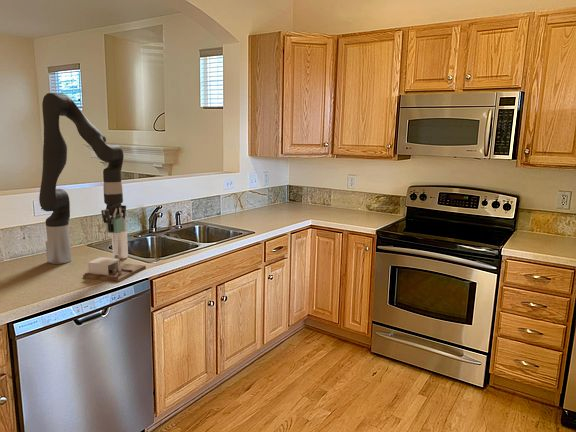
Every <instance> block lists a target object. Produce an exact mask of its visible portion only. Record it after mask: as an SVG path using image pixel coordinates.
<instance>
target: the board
mask: <svg viewBox="0 0 576 432" xmlns="http://www.w3.org/2000/svg"><path fill="white" fill-rule="evenodd" d="M115 259H119V266H120V270H118V271H116V269H113V270H108V272H109V276H108V275H100V274H92V273H89V271H88V272H85V273H84V274H82V278H83V279H85V278H86V279H90V280H99V281H106V282H107V281H109V282H116V283H120V282H121V281H123V280H125V279H128V278H130V277H131V276H134V275H135V274H138V273H140V272H141V271H143V270H145V269H146V268H147V267H146V265H143V264H133V263H126V262H125V263H124V262H120V261H121V259H120V257H119V254H115Z"/></svg>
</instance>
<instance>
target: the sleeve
mask: <svg viewBox="0 0 576 432" xmlns="http://www.w3.org/2000/svg"><path fill="white" fill-rule="evenodd" d="M106 220H107V219H106ZM110 221H111V219H110ZM113 221H114V222H113V224H114V232H113V233H120V232H122V231H124V218H123V217H115V219H113ZM105 224H106V233H107V234H109V233H110V234H112V233H111V232H109V231H108V224H107V223H105Z"/></svg>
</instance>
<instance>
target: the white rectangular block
mask: <svg viewBox="0 0 576 432" xmlns="http://www.w3.org/2000/svg"><path fill="white" fill-rule="evenodd" d="M87 264H88V265H87V268H88V269H87V270H88V272H89V273H92V274H100V275H108V276H109V272H108V270H113V269H116V271H118V270H120V266H119V259H114V258H113V257H103V256H100V257H97V258H95V259H92V260H90V261H88V262H87Z"/></svg>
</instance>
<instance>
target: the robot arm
mask: <svg viewBox="0 0 576 432" xmlns="http://www.w3.org/2000/svg"><path fill="white" fill-rule="evenodd" d="M41 105H42V119H43V120H42V121H43V122H42V123H43V146H42V147H43V148H42V173H41V183H40V188H39V189H40V190H39V196H38V201H39V206H40V208H41V210H43V211H44V212H52V213H51V215H50V216H48V217H47V218H46V219H45V230H46V231H45V232H46V241H45V251H46V252H45V253H46V261H47V263H49V264H52V265H57V264H58V265H59V264H66V263H69V262H72V250H71V235H70V225H69V221H70V217H71V208H70V207H71V204H70V203H71V201H70V196H69V194H68V192H67V191H66V190H65V189H63V188H57V183H58V179H59V178H60V176H61V173H62V172H63V170H64V168H65V167H66V164H67V158H68V145H67V143H66V141H65V138H64V137H63V135H62V132H61V129H60V117H62V116H64V117H66V118H67V119H69V120H70V121H71V122H72V123H73V124H74V125H75V127H76V130H77V132H78V135H80V137H81V138H82V139H83V140H84V141H85V142H86V143H87V144H88V145H89V146H90V147H91V148H92V150H93V152H94V153H95V155H96V156H97V158H98V159H100V160H101V161H102V162H104V163H108V165H107V167H105V168H104V169H103V170H102V171H103V173H102V178H103V187H102V188H103V189H102V190H103V202H104V203H103V204H105V205H106V207H105V209H101V216H102V221H103V223H104V224H106V223H107V224H108V231H109V232H111V233H110V234H112V233H113V232H114V224H113V222H114V221H113V219H115V217H123V218H124V219H125V215H126V216H127V213H126V212H127V205H123V204H122V203H124V197H123V196H124V195H123V194H124V193H123V184H122V173H121V172H122V167H123V162H124V155H125V154H124V151H123V149H122V147H121V146H119V145H117V144H107V143H106V142H107V138H106V136H105V135H104V134H103V133H102V132H101V131H100V130H99V129H98V128H97V127H96V126H95V125H94V124H93V123H92V122H91V121H90V120H89V119H88V118H87V116H85V114H84V113H83V112H82V110H81V109H80V108H79V106H78V105H77V103H76V102H75V101H74V100H73V99H72V98H71V97H70V96H69V95H68V94H64V93H59V92H58V93H57V92H56V93H55V92H48V93H46V94H45V95H44V96H43V98H42V104H41ZM122 213H123V216H122ZM111 216H112V217H111ZM106 219H107V220H106ZM110 219H111V221H110Z"/></svg>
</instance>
